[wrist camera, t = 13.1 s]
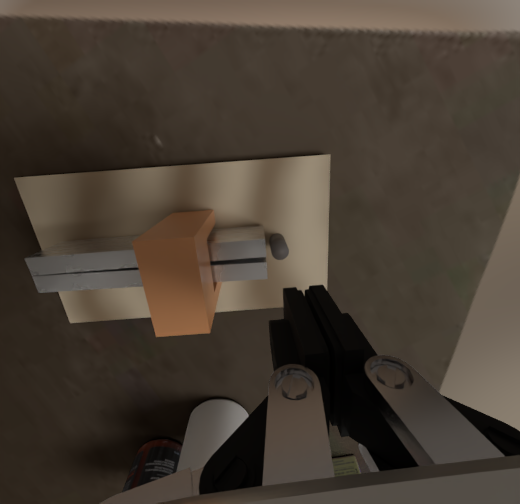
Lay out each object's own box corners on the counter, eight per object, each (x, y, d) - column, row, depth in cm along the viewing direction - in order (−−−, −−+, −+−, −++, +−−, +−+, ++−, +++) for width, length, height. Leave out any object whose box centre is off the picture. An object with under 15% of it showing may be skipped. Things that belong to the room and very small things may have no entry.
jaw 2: (264, 245, 20) (266, 262, 17) (265, 259, 20) (267, 279, 17) (67, 256, 20) (32, 276, 16) (72, 271, 20) (38, 292, 17)
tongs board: (326, 154, 19) (342, 154, 16) (323, 297, 23) (335, 321, 20) (25, 176, 19) (-23, 180, 15) (77, 316, 23) (48, 342, 20)
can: (256, 400, 27) (258, 573, 16) (243, 441, 29) (237, 619, 18) (194, 391, 26) (152, 565, 15) (186, 434, 29) (143, 614, 17)
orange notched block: (213, 209, 19) (194, 237, 12) (222, 278, 21) (209, 333, 14) (172, 212, 19) (131, 241, 12) (185, 281, 21) (156, 337, 14)
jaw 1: (263, 225, 19) (265, 238, 16) (264, 240, 20) (266, 256, 16) (62, 241, 19) (24, 258, 16) (67, 256, 20) (31, 275, 16)
